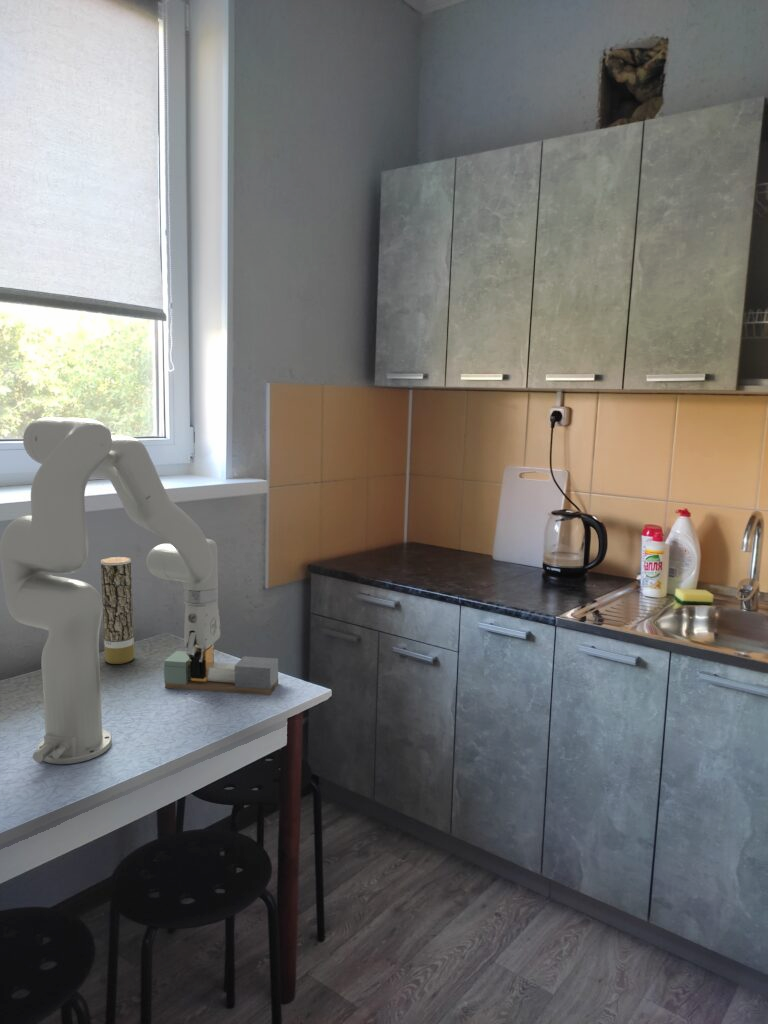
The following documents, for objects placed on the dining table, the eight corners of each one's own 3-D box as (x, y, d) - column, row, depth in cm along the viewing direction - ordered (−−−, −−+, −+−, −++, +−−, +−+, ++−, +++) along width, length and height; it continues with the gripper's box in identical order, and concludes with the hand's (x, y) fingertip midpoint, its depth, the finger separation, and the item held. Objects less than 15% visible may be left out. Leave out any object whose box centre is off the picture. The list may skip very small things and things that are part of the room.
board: (270, 695, 159) (270, 689, 159) (165, 687, 163) (164, 682, 162) (278, 683, 166) (278, 678, 166) (177, 676, 169) (177, 671, 169)
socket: (186, 684, 161) (185, 662, 161) (164, 682, 162) (163, 661, 161) (198, 672, 168) (197, 651, 168) (177, 671, 169) (176, 650, 168)
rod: (239, 684, 161) (238, 653, 160) (173, 679, 163) (172, 649, 162) (245, 676, 166) (245, 647, 164) (181, 672, 167) (180, 643, 166)
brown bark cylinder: (115, 667, 174) (111, 564, 170) (99, 660, 178) (94, 560, 174) (140, 659, 180) (136, 559, 176) (124, 653, 184) (120, 555, 180)
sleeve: (270, 689, 159) (270, 668, 159) (234, 687, 160) (234, 666, 160) (278, 678, 166) (278, 658, 165) (243, 676, 167) (243, 656, 166)
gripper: (202, 606, 153) (204, 689, 156) (229, 586, 169) (231, 661, 172) (168, 604, 154) (170, 687, 157) (198, 584, 170) (200, 659, 173)
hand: (202, 672), depth 164 cm, fingers closed on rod, 4 cm apart
